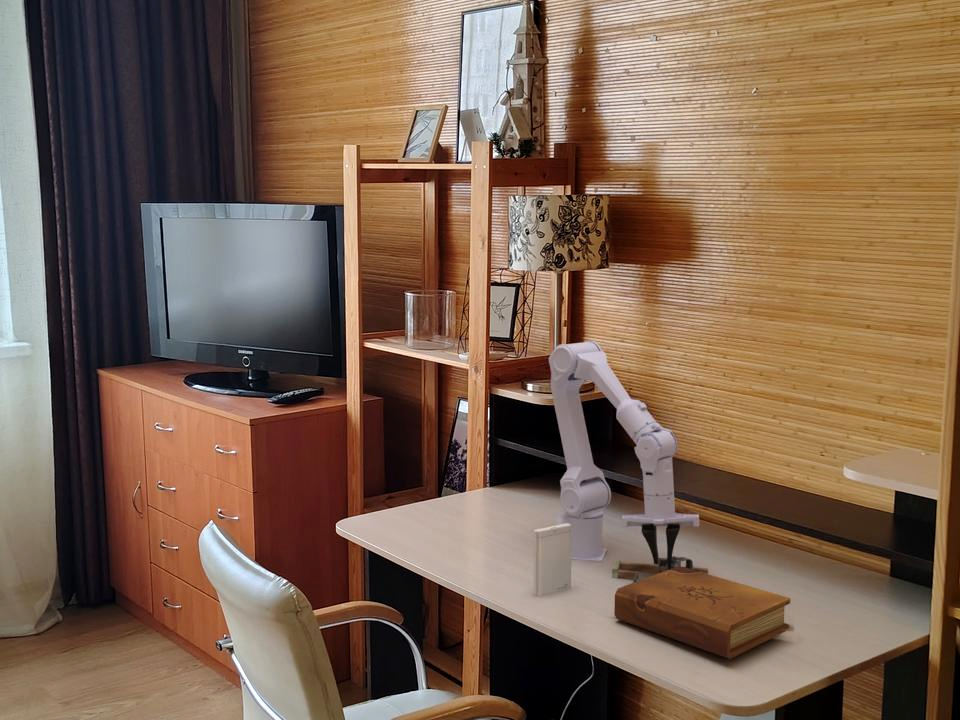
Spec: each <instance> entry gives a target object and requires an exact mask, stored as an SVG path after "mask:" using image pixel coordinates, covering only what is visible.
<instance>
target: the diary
mask: <svg viewBox="0 0 960 720" xmlns="http://www.w3.org/2000/svg"><path fill="white" fill-rule="evenodd" d="M791 599H792V598H791V597H787V596H784V595H780V594H777V593H774V592H771V591H767V590H764V589H760V588H756V587H754V586H750V585H746V584H743V583H739V582H736V581H733V580H729V579H726V578H722V577H719V576H716V575H713V574H709V573H708V574H706V573H702V572H699V571H695V570H692V569H689V568H685V566H677V567H675V568H672V569H669V570H667V571H664V572H659V573H658V574H653V575H651V576H647V577H645V578H642V580H639V581H637V582H634V583H633V582H632V583H629V584H626V585H624V586H621V587H619V588H617V590H616V591H615V593H614V609H613V610H614V612H613V613H614V617H615V619H617V620H619V621H621V622H624V623H627V624H631V625H633V626H636V627H639V628H642V629H645V630H648V631H650V632H653V633H656V634H659V635H661V636H664V637H667V638H669V639H673V640H675V641H678V642H681V643H684V644H686V645H689V646H693V647H694V648H697V649H701V650H704V651H706V652H709V653H712V654H715V655H717V656H720V657H722V658H726V659H729V660H731V659H733V658H735V657H737V656H739V655H740V654H743V653H745V652H747V651H749V650H752V649H753V648H755V647H757V646H759V645H760V644H763V643H765V642H767V641H769V640H771V639H773V638H775V637H777V636H780V635H781V634H783V633H785V632H786V629H787V628H789V627H790V624H789V623H785V609H786V608H785V607H786V606H788V605H790V604H791Z"/></svg>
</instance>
